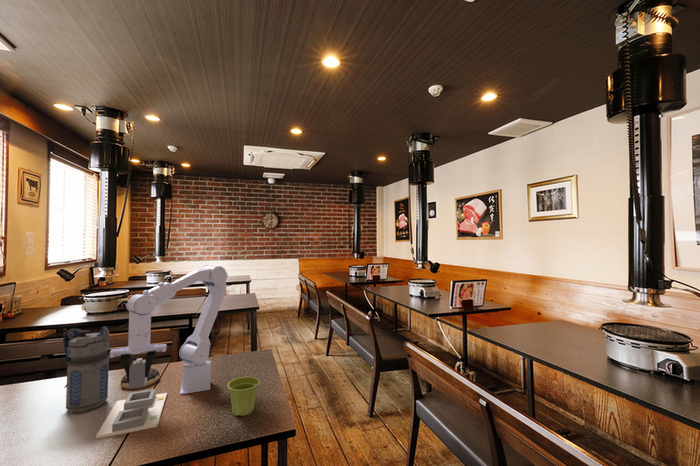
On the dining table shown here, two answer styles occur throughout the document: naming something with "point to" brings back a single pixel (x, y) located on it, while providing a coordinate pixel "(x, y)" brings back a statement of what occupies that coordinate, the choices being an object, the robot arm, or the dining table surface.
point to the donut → (150, 379)
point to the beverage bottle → (86, 369)
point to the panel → (134, 414)
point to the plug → (137, 374)
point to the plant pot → (243, 394)
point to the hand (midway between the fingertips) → (138, 377)
